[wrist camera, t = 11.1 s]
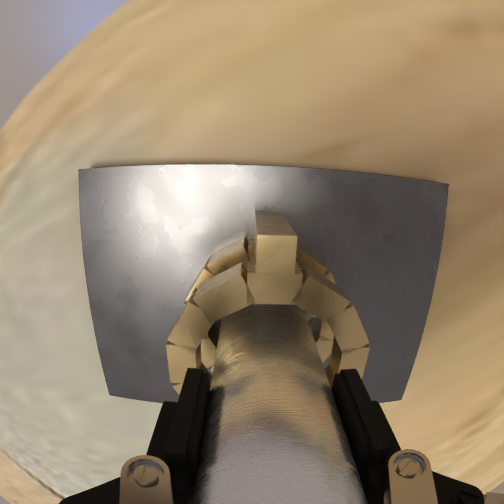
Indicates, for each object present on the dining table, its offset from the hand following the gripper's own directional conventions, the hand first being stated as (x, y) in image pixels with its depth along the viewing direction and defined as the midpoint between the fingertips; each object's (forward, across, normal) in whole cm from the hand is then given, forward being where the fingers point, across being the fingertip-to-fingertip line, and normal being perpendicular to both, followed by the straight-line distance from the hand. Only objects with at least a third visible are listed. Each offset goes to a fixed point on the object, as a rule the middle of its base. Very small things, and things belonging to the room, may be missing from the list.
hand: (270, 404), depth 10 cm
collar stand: (+10, 0, 0) cm, 10 cm away
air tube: (+7, 0, 0) cm, 7 cm away
